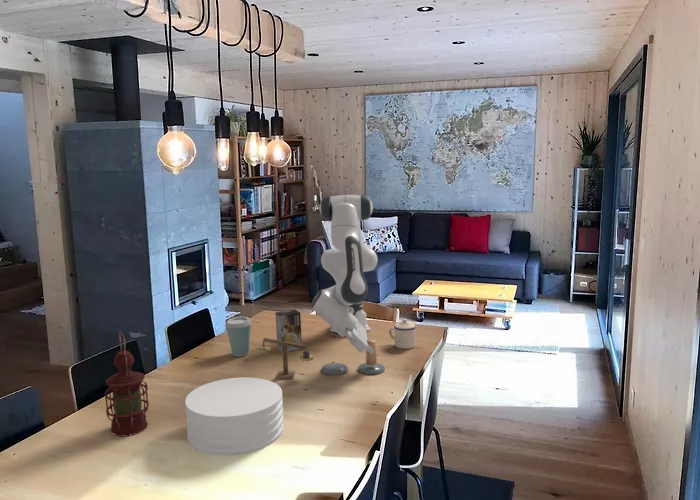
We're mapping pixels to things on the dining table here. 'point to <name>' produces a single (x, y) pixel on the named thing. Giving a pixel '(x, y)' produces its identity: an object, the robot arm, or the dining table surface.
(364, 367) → the dish
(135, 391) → the lantern
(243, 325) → the disposable coffee cup
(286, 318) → the coffee box
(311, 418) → the dining table surface
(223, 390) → the plate stack
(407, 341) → the teacup with lid
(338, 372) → the dish
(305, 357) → the balance
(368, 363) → the peach shift knob
